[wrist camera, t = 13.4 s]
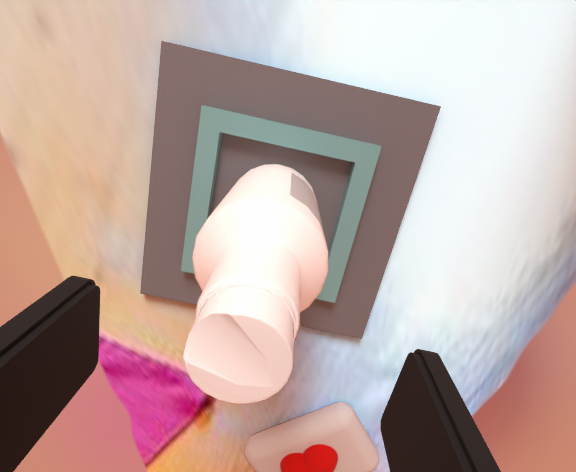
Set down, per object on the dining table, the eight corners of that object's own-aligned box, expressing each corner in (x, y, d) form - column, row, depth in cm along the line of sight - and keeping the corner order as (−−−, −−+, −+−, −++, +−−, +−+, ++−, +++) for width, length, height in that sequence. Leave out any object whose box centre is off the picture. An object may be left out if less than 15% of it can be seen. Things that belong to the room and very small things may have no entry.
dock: (436, 106, 26) (446, 106, 24) (360, 333, 32) (363, 345, 31) (165, 43, 25) (156, 37, 23) (144, 288, 31) (135, 299, 30)
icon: (284, 535, 36) (234, 471, 33) (286, 492, 40) (241, 432, 37) (396, 499, 34) (353, 428, 31) (385, 457, 38) (346, 391, 35)
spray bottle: (276, 262, 29) (249, 473, 12) (213, 208, 28) (83, 364, 11) (335, 205, 27) (396, 359, 11) (270, 143, 26) (222, 210, 9)
